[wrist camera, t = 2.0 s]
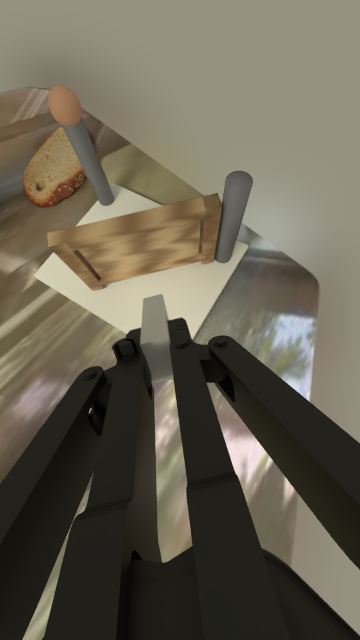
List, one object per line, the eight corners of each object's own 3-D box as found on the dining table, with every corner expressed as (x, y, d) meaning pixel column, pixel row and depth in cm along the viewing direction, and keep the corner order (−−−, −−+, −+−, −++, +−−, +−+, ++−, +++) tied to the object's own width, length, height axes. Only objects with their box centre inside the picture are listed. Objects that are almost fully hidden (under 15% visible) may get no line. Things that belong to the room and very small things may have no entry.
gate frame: (35, 277, 42) (-80, 195, 24) (112, 187, 47) (65, 65, 30) (177, 365, 36) (162, 340, 18) (247, 249, 41) (288, 143, 23)
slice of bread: (82, 128, 53) (74, 109, 50) (116, 176, 48) (110, 159, 45) (10, 161, 52) (-3, 144, 48) (38, 215, 47) (25, 201, 43)
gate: (210, 252, 40) (217, 193, 28) (213, 262, 39) (222, 205, 27) (91, 280, 39) (47, 233, 27) (92, 291, 39) (48, 247, 27)
